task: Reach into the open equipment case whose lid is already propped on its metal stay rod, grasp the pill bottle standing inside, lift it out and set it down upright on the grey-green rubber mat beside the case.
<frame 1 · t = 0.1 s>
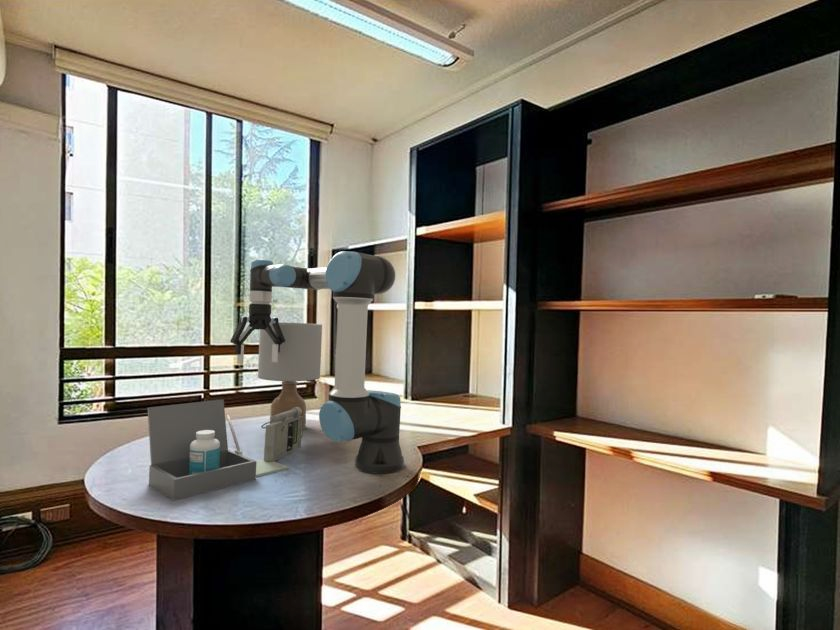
hand: (257, 363, 170), 28 cm above the table, fingers open, 13 cm apart
pill bottle: (203, 482, 129), resting in case
mat: (261, 468, 142), on the table
geiger counter: (285, 452, 159), on the table, touching mat
lamp: (287, 428, 192), on the table
case: (203, 481, 129), on the table
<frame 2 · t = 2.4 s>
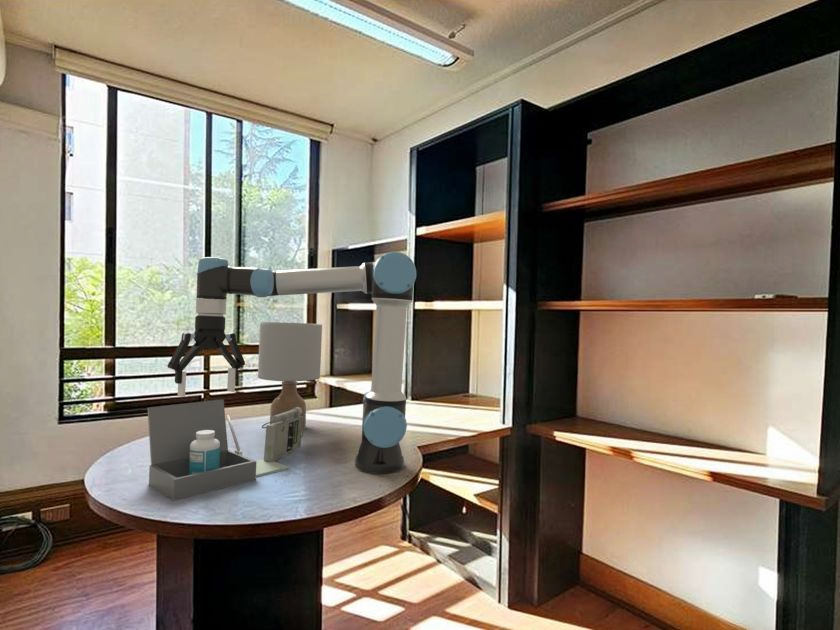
hand: (207, 393, 129), 24 cm above the table, fingers open, 13 cm apart
nothing on the table moved.
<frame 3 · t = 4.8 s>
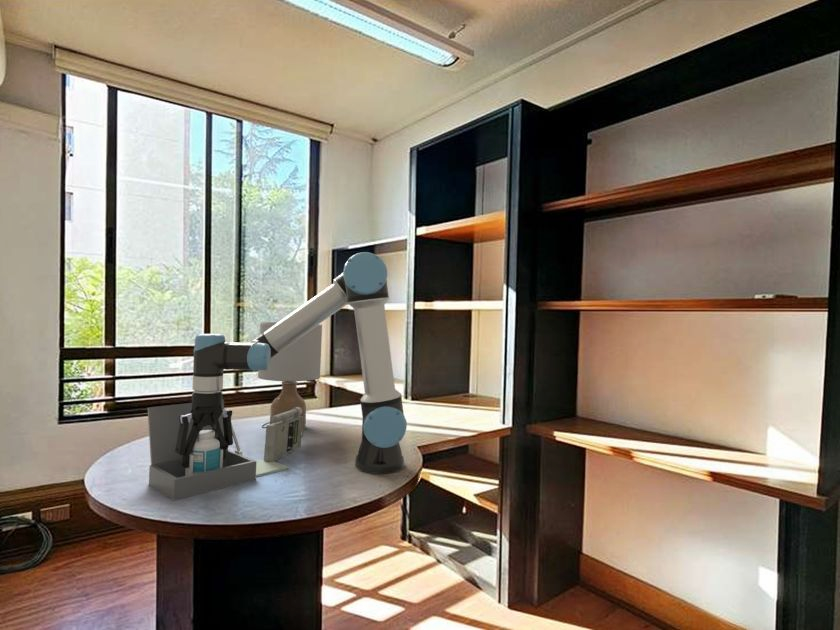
hand: (204, 475, 129), 2 cm above the table, fingers closed on pill bottle, 7 cm apart
pill bottle: (203, 482, 129), resting in case, touching gripper
everything else where it was.
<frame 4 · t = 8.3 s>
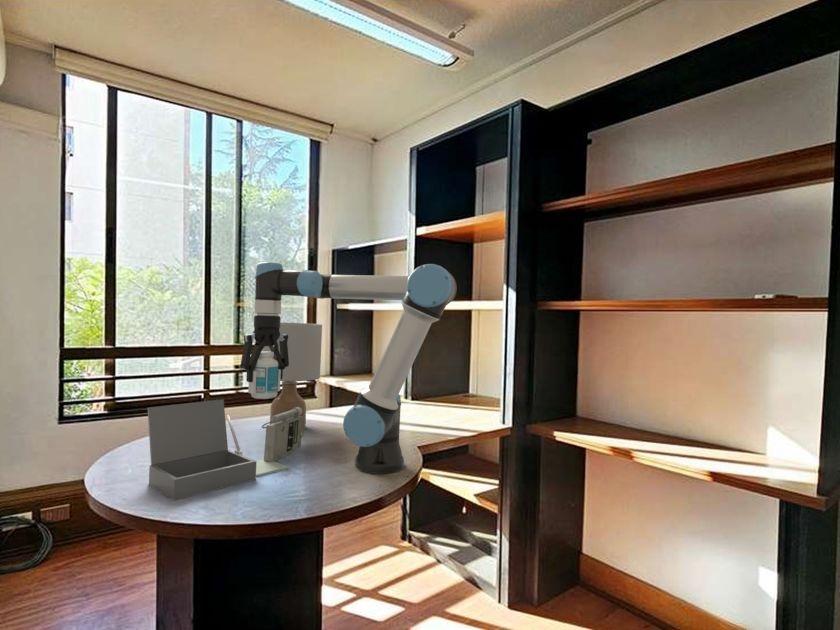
hand: (264, 391, 142), 23 cm above the table, fingers closed on pill bottle, 7 cm apart
pill bottle: (264, 397, 142), point 21 cm above the table, touching gripper
everything else where it was.
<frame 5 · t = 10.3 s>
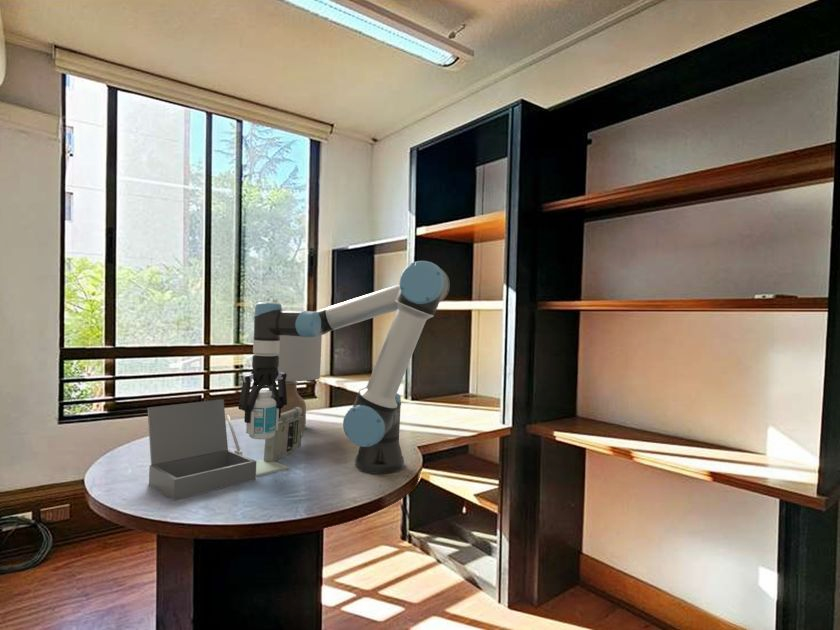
hand: (262, 431, 142), 11 cm above the table, fingers closed on pill bottle, 7 cm apart
pill bottle: (261, 437, 142), point 9 cm above the table, touching gripper
everything else where it was.
when the fingers open (4 cm above the table, at t = 12.1 s): pill bottle drops 2 cm, resting on mat.
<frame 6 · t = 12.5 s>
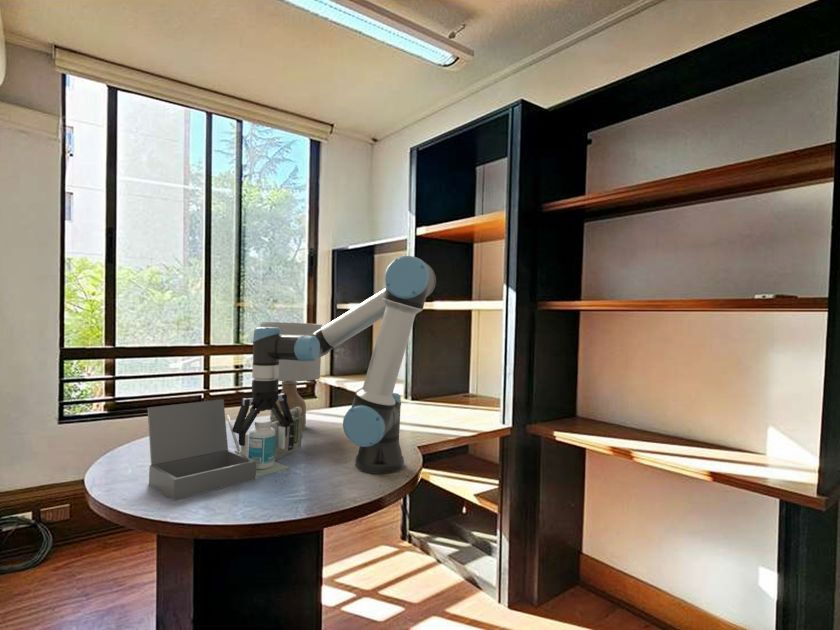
hand: (263, 451, 142), 5 cm above the table, fingers open, 11 cm apart
pill bottle: (260, 467, 142), resting on mat
geiger counter: (286, 451, 159), on the table, touching gripper
everything else where it was.
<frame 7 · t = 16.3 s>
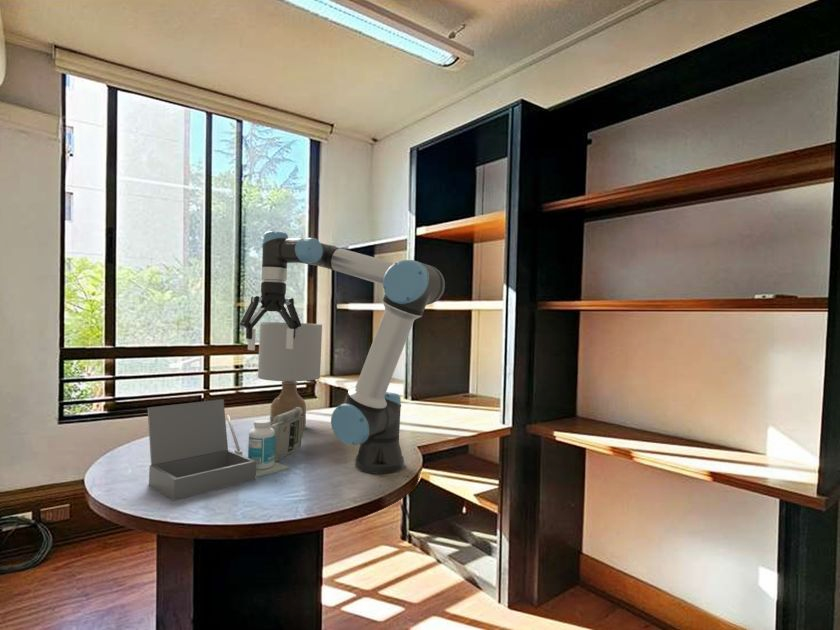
hand: (271, 349, 150), 35 cm above the table, fingers open, 13 cm apart
geiger counter: (286, 452, 159), on the table, touching mat
everything else where it was.
at the end: pill bottle inside the target area on the mat (0.2 cm from its centre), point 0.4 cm above the mat's base; pill bottle tilted 0°; the gripper is holding nothing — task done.
